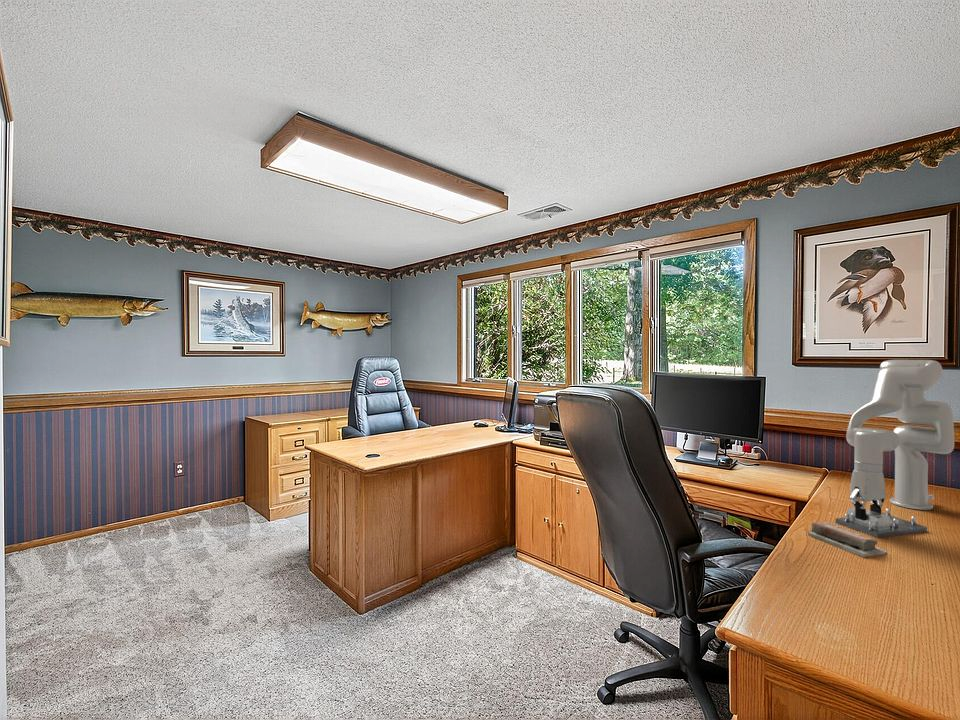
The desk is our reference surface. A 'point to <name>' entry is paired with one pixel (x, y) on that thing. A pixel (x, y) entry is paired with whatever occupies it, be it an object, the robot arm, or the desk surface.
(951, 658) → the desk surface
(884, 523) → the block
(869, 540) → the packaged product
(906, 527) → the tray
